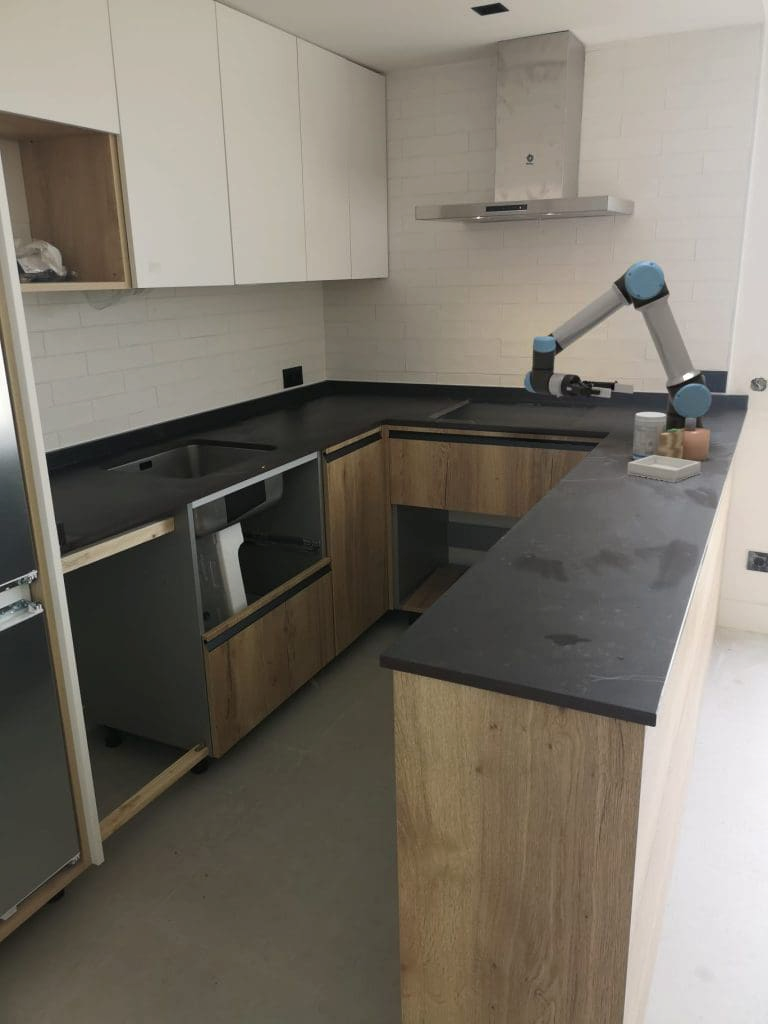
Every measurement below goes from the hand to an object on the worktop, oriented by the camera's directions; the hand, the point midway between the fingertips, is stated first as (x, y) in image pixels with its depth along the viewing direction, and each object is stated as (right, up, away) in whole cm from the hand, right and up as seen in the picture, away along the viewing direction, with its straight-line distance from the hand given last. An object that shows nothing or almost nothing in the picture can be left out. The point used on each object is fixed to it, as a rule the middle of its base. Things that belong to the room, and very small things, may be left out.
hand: (621, 391), depth 258 cm
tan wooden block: (+13, -24, -7) cm, 28 cm away
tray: (+6, -27, -20) cm, 34 cm away
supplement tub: (+8, -22, -2) cm, 24 cm away
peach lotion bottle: (+23, -21, 0) cm, 31 cm away
